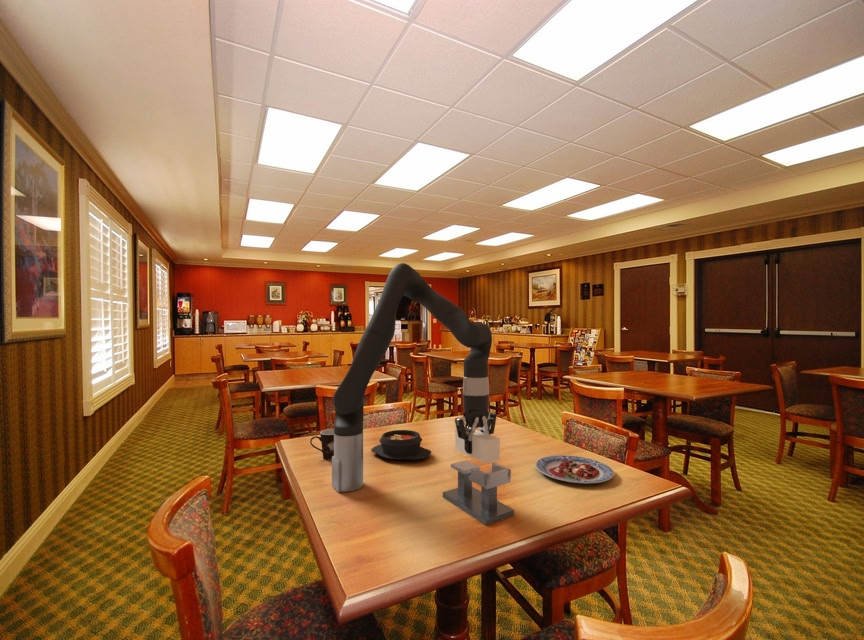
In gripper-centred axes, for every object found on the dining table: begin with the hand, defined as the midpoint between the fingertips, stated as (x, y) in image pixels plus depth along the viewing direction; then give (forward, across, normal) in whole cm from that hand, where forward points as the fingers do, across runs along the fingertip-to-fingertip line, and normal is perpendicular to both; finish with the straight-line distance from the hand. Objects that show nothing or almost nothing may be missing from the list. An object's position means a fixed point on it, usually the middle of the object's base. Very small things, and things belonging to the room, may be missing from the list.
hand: (476, 451), depth 113 cm
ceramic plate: (+16, -44, -1) cm, 47 cm away
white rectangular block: (+1, 0, 0) cm, 1 cm away
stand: (+16, 0, 0) cm, 16 cm away
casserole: (+16, -2, -50) cm, 52 cm away
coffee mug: (+16, +23, -64) cm, 70 cm away
